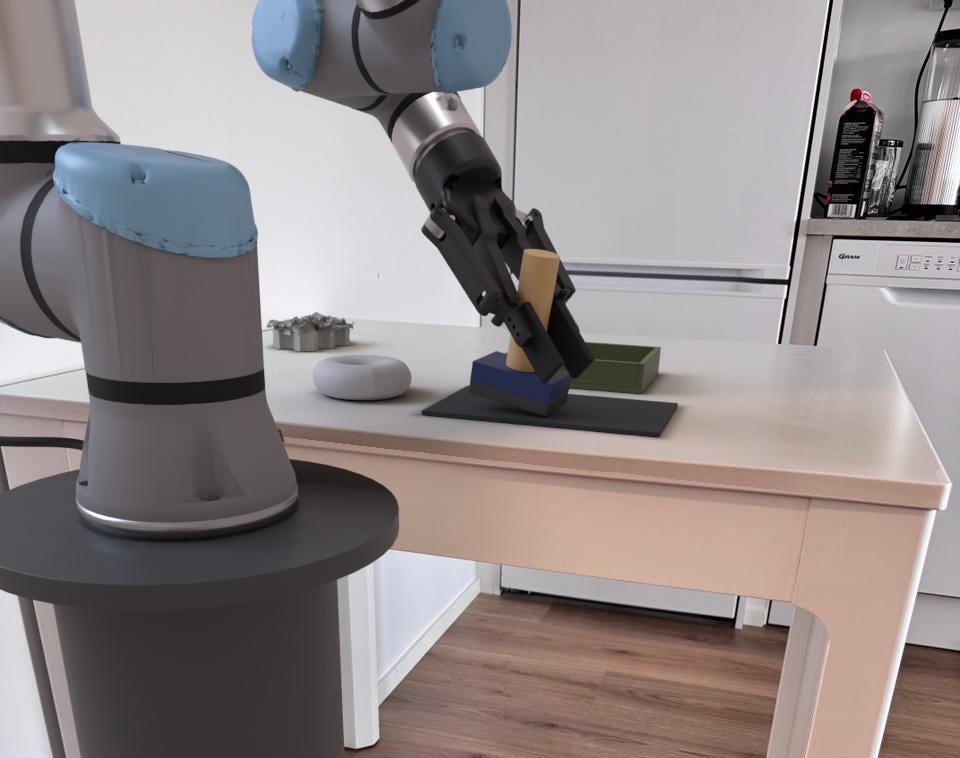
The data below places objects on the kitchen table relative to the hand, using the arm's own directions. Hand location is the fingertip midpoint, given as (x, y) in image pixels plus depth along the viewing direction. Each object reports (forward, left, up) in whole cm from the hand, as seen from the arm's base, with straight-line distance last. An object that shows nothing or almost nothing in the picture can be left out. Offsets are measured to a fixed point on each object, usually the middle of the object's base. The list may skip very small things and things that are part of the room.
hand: (568, 370), depth 84 cm
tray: (-3, +25, -5) cm, 26 cm away
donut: (-22, +6, -5) cm, 24 cm away
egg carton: (-42, +33, -5) cm, 53 cm away
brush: (-5, +3, -3) cm, 7 cm away
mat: (-2, +6, -5) cm, 8 cm away
